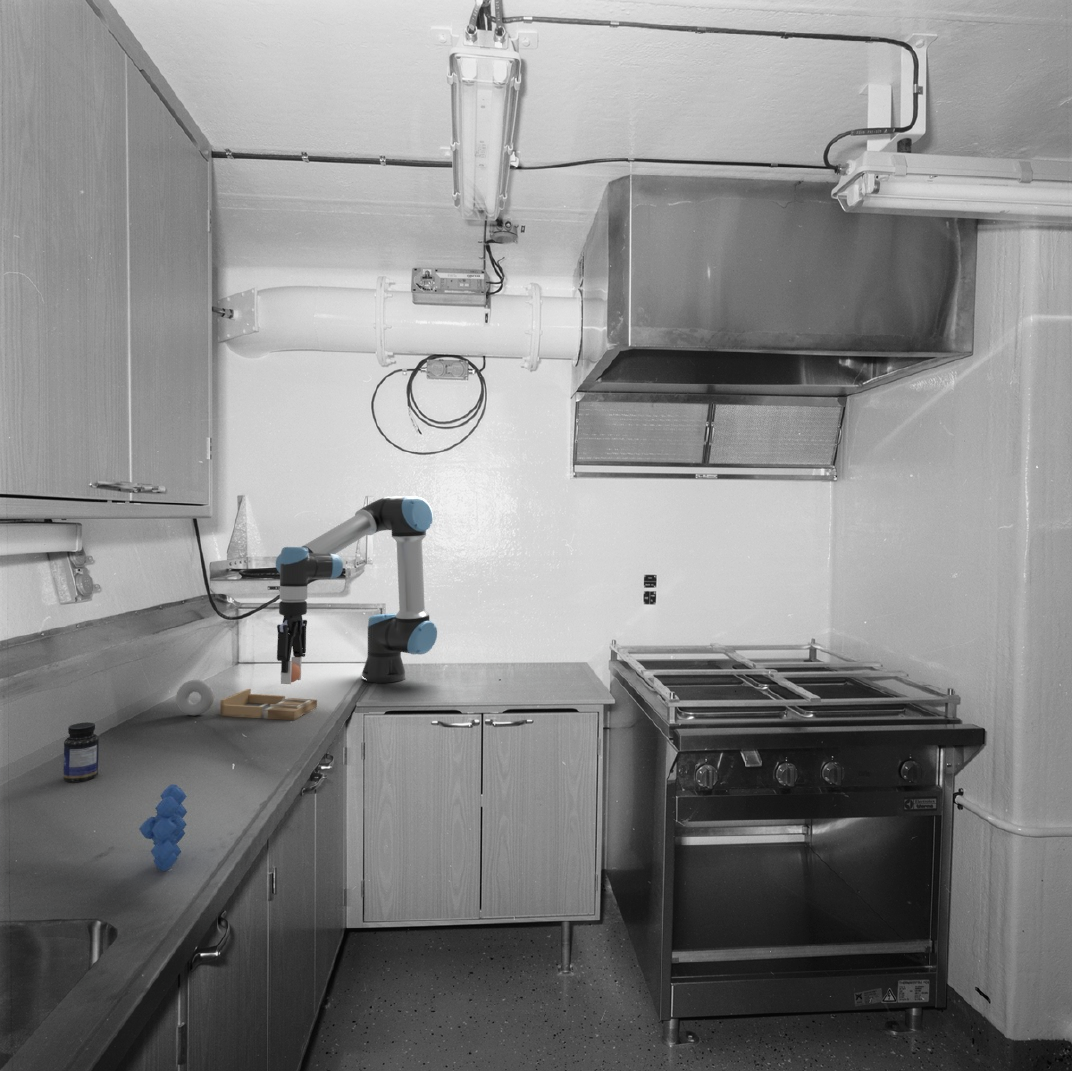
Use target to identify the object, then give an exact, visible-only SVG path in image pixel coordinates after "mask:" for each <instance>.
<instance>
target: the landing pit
mask: <svg viewBox="0 0 1072 1071" xmlns="http://www.w3.org/2000/svg"><path fill="white" fill-rule="evenodd" d="M251 691H252V690H251V688H247V689H244V690H242V691H239V692H237V693H234V694H232V695H229V696H227V697H225V698H222V699H220V701H219V706H220V711H219V716H220V717H235V718H251V719H253V718H254V719H265V718H264V709H266V708H269V707H270V704H277V703H279V702H281V701H282V699H286V695H279V694H278V695H276V694H274V695H273V694H262V693H261V694H258V693H252V692H251Z"/></svg>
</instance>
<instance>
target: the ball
mask: <svg viewBox="0 0 1072 1071" xmlns="http://www.w3.org/2000/svg"><path fill="white" fill-rule="evenodd" d="M300 674H301V675H302V670H301V671H300V668H299V667H298V666H297V665H296V664H293V663H292V669H291V683H294V682H296V681H298V680H297V679H298V678H299V677H300Z"/></svg>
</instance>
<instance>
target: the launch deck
mask: <svg viewBox="0 0 1072 1071" xmlns="http://www.w3.org/2000/svg"><path fill="white" fill-rule="evenodd" d="M316 707H318V700H317V699H315V698H314V699H311V698H293V697H292V698H291V697H288V698H285V699H282V701H281V702H279V703H277V704H270V707H269V708H266V709H264V718H263V719H264V720H265V719H267V720H282V721H283V720H285V721H296V720H297V719H299V718H301V717H303V716H304V715H303V714H305V713H306V714H308V713H310V712H312V711H314V710H315V709H317V708H316ZM313 709H314V710H313ZM311 710H312V711H311ZM307 712H308V713H307ZM306 714H305V715H306ZM302 715H303V716H302ZM300 716H301V717H300ZM295 719H296V720H295Z"/></svg>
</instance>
